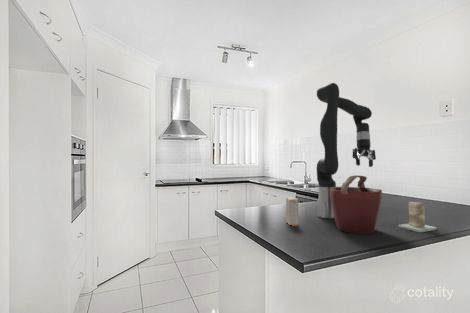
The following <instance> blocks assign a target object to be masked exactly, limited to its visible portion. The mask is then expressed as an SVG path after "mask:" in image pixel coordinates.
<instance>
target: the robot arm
mask: <svg viewBox="0 0 470 313" xmlns="http://www.w3.org/2000/svg"><path fill="white" fill-rule="evenodd" d="M316 97H317V99H318V100H319V101H320V102H323V103H325V104H326V105H327V106H326V108H325V110H326V111H324V112H325V113H324V114H323V116H322V118H321V120H320V124H319V133H320V135H319V136H320V139H321V143H322V145H323V148H324V158H320V159H319V160H318V161H317V164H316V180H317V183H318V199H317V205H316V206H317V207H316V208H317V211H316V212H317V217H319V218H322V219H335V217H334V212H333V207H332V203H331V198H330V188H335V187H337V183H336V181H335V179H333V175H335V174H336V173H337V172H338V170H339V156H338V155H339V154H338V109H340V110H342V111H343V112H346V113H347V114H348V115H350V116H352V119H353V121H354V124H355V127H356V135H355V136H356V147H355V148H352V158H353V159H354V160H355V165H356V166H357V167H359V166H361V159H360V158H361V157H365V158H366V159H367V160H368V167H370V168H372V167H373V166H374V160H376V159H377V157H376V150H375V149H372V150H371V134H370V125H369V123H367V122H363V121H365V120H368V119H370V118H371V117H372V115H373V112H372V110H371V109H370V108H369V107H367V106H366V105H365V106H364V105H360V104H357V103H356V102H354V101H353V100H350V99H348V98H345V97H340V88H339V85H338V84H337V83H335V82H331V83H327V84H324V85H322V86H320V87H318V89H317V90H316Z"/></svg>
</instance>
